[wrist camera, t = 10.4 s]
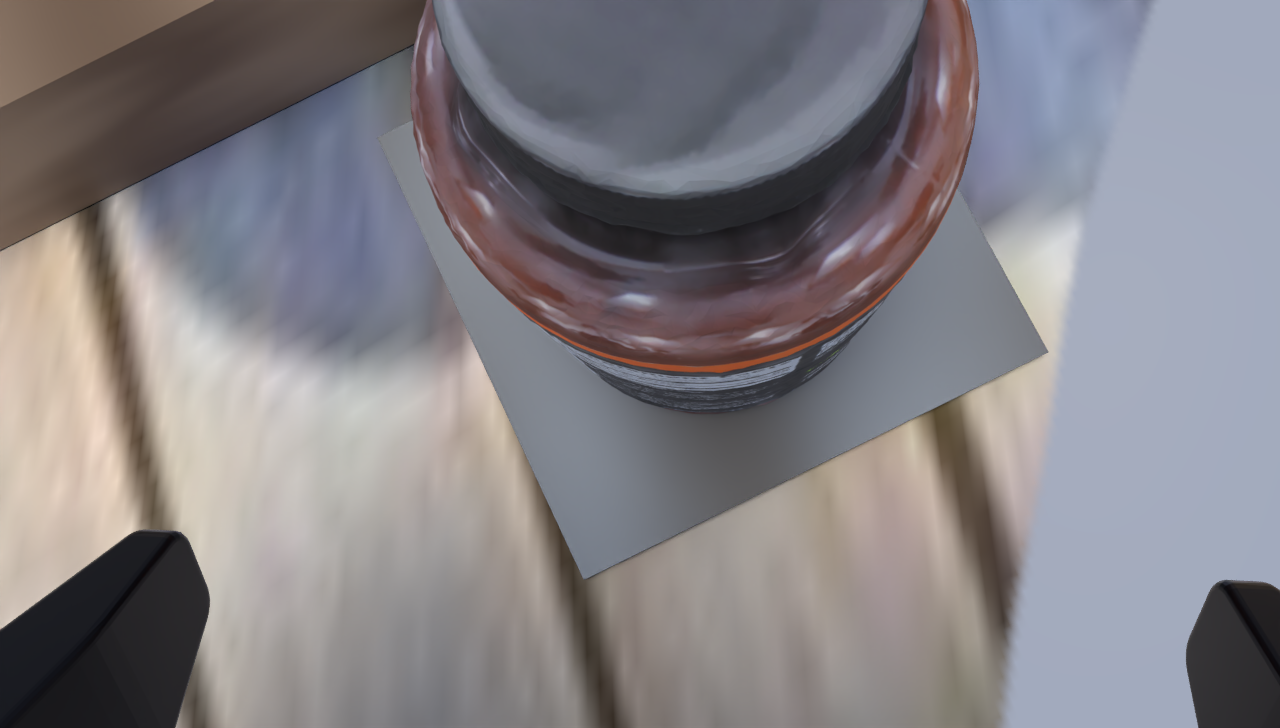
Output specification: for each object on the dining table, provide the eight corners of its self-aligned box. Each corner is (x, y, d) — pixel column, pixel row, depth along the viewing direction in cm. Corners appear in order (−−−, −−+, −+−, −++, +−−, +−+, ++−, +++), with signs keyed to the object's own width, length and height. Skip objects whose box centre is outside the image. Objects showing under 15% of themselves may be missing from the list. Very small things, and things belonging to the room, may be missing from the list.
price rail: (-193, 960, 20) (-426, 1078, 16) (-412, 312, 21) (-670, 269, 17) (1115, 319, 19) (1217, 273, 15) (775, -283, 21) (787, -464, 17)
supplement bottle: (604, 55, 20) (456, -499, 9) (917, 150, 19) (1178, -320, 8) (495, 359, 20) (191, 174, 8) (813, 467, 19) (943, 423, 8)
